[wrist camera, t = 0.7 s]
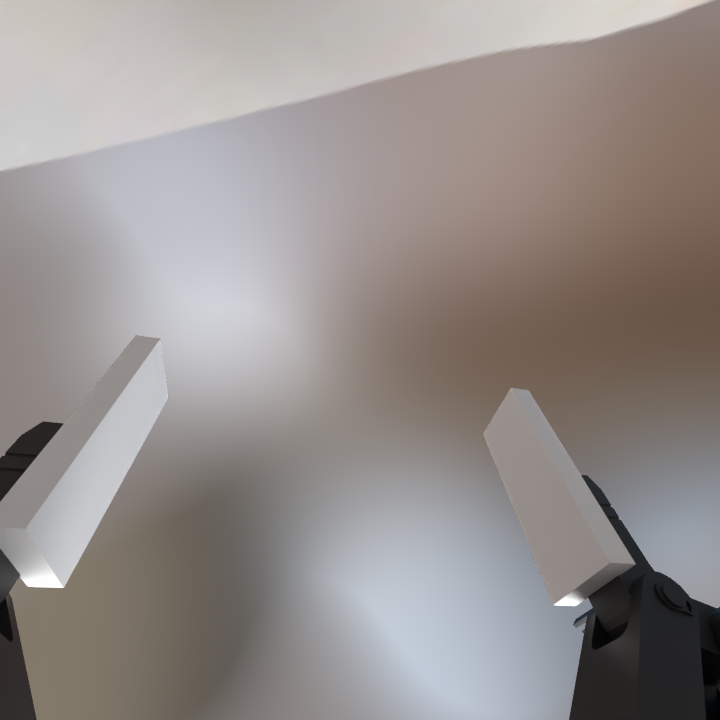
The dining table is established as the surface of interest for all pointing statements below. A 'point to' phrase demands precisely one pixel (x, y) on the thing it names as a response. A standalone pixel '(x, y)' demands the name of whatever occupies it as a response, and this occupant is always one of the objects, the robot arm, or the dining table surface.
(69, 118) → the dining table surface
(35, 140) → the dining table surface
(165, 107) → the dining table surface
